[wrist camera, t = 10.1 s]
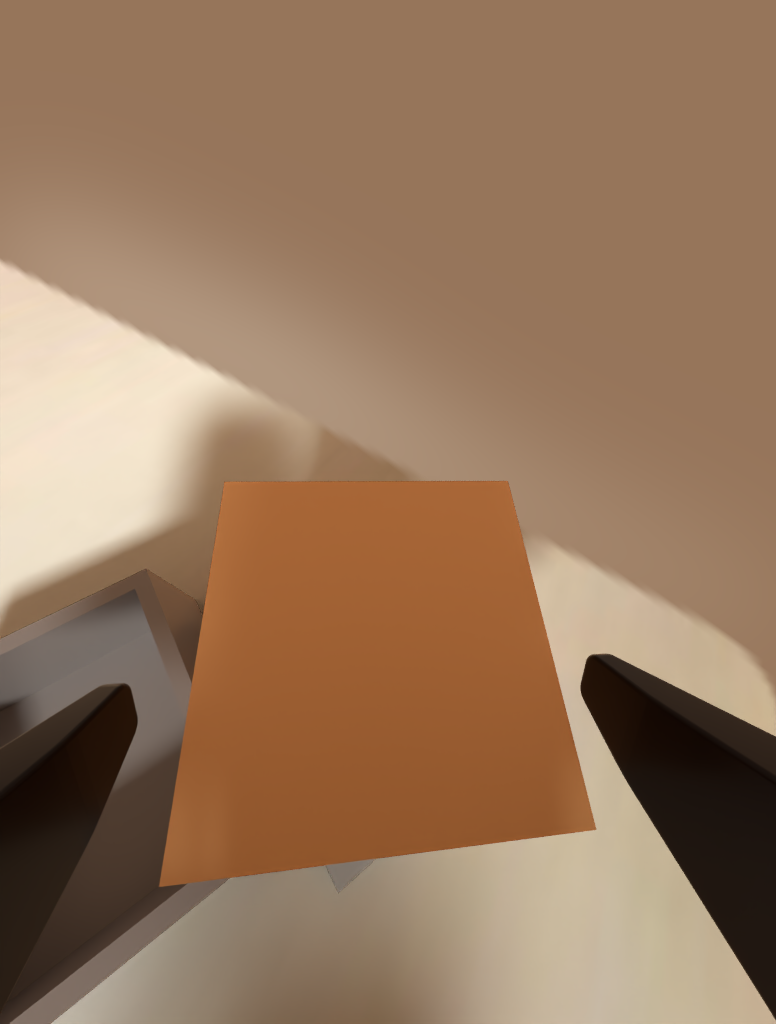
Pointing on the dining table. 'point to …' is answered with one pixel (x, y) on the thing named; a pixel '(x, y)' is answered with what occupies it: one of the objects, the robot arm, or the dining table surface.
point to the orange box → (368, 683)
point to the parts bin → (136, 792)
